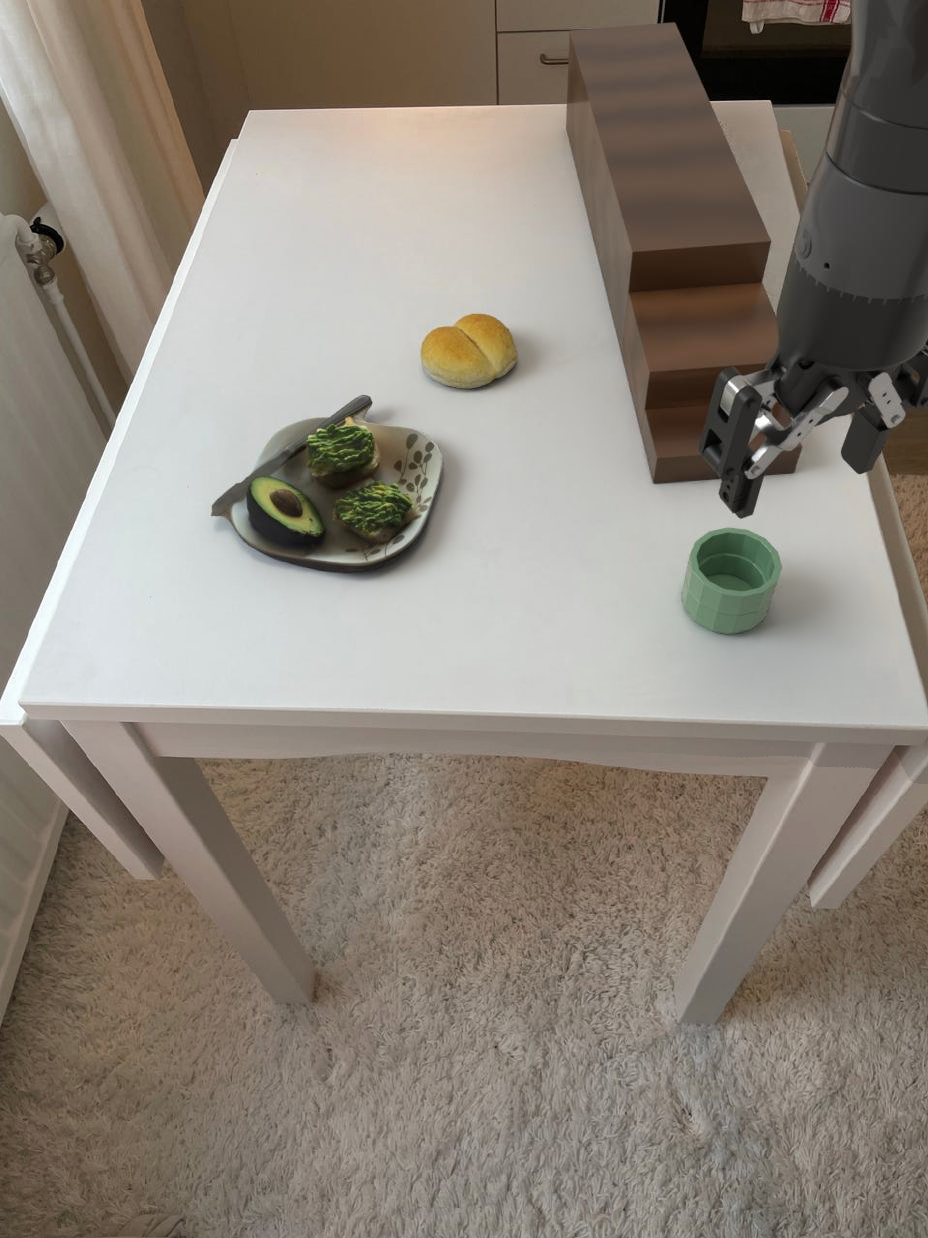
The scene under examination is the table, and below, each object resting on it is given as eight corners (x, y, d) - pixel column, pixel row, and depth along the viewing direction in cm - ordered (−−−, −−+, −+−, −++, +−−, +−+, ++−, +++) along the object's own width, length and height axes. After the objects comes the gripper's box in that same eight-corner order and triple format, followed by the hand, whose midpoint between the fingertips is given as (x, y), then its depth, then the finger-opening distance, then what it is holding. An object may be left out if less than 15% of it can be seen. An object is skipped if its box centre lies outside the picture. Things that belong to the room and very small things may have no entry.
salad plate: (287, 397, 90) (277, 357, 86) (470, 426, 86) (468, 385, 82) (199, 550, 79) (183, 512, 75) (404, 590, 75) (398, 552, 71)
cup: (776, 584, 74) (790, 541, 70) (754, 648, 70) (768, 607, 66) (695, 560, 75) (705, 517, 71) (670, 621, 72) (678, 580, 68)
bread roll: (407, 357, 92) (403, 322, 89) (486, 325, 95) (485, 290, 91) (449, 405, 88) (446, 370, 85) (531, 370, 90) (532, 335, 87)
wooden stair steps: (794, 473, 81) (828, 368, 72) (652, 483, 81) (669, 380, 72) (663, 120, 117) (675, 21, 108) (565, 127, 117) (569, 30, 108)
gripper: (796, 332, 42) (730, 567, 55) (1053, 246, 45) (932, 489, 58) (704, 245, 46) (663, 483, 59) (945, 171, 49) (855, 413, 62)
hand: (796, 485), depth 58 cm, fingers open, 8 cm apart
